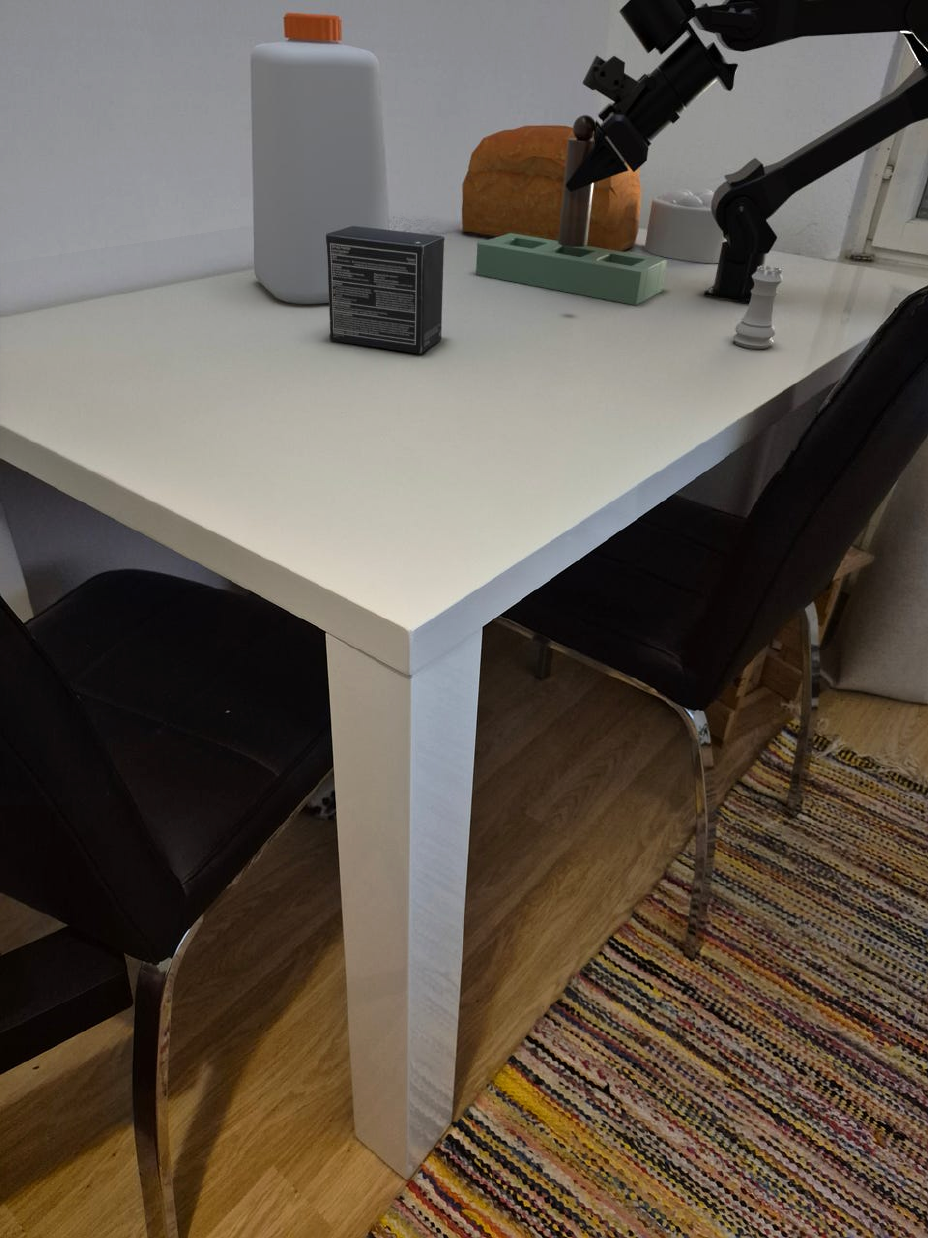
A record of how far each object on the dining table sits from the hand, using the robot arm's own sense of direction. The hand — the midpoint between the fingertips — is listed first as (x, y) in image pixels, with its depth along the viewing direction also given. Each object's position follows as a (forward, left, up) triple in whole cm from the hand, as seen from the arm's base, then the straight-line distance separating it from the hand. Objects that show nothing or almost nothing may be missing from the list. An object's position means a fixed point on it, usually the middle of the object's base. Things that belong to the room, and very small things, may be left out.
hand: (567, 185), depth 110 cm
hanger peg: (-1, +1, -7) cm, 7 cm away
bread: (-25, -14, -12) cm, 31 cm away
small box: (+35, -3, -12) cm, 38 cm away
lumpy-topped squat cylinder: (-31, +7, -12) cm, 34 cm away
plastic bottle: (+23, -21, -12) cm, 34 cm away
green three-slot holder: (-1, +1, -12) cm, 12 cm away
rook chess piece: (+10, +29, -12) cm, 33 cm away
